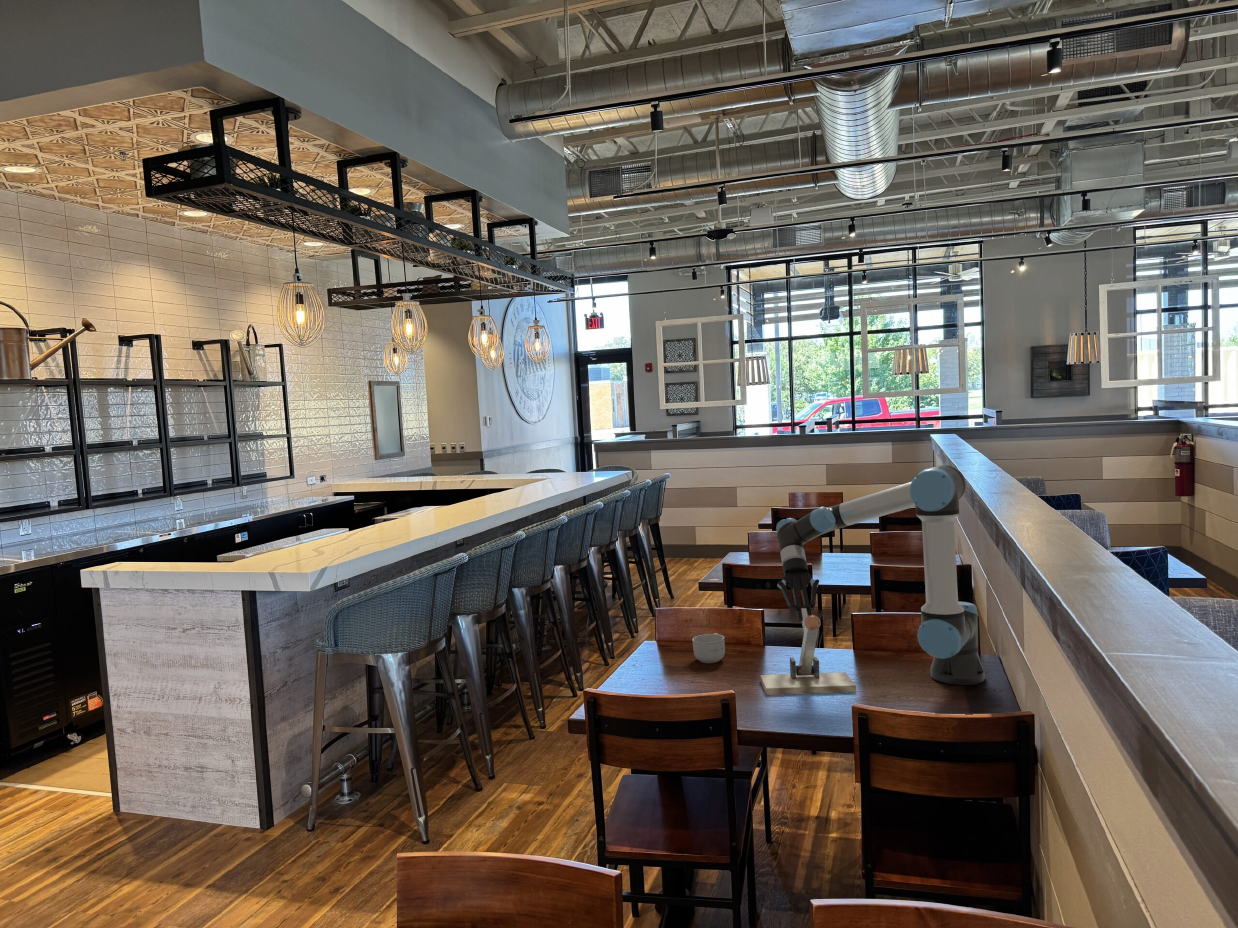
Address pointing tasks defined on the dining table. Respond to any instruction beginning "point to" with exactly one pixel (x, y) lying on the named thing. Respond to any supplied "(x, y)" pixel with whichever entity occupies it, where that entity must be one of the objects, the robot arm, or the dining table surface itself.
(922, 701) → the dining table surface
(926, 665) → the dining table surface
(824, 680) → the board
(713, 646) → the teacup
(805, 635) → the press lever
